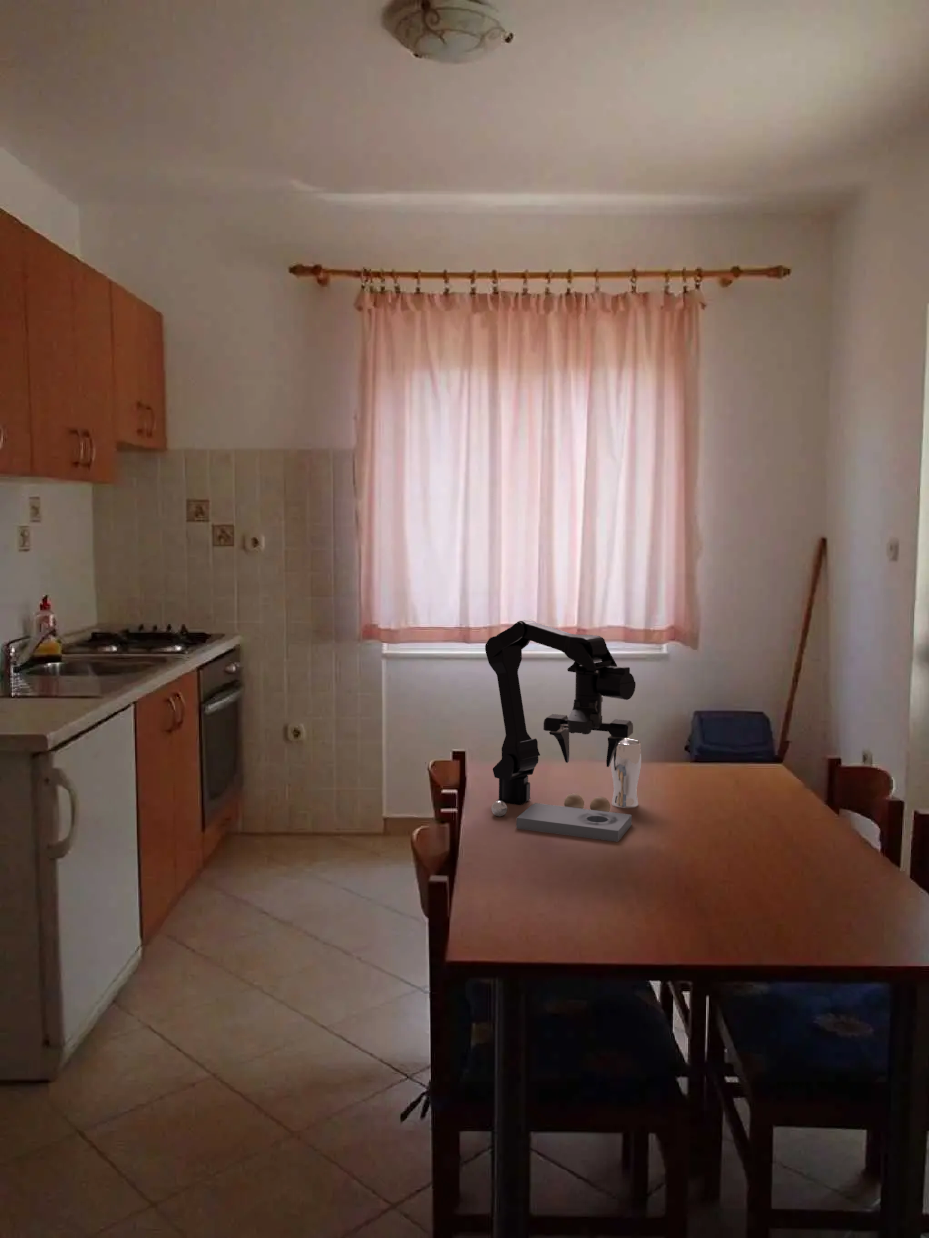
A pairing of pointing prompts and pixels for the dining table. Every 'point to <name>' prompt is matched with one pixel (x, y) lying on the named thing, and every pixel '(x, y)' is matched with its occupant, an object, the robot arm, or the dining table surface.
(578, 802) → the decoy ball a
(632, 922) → the dining table surface
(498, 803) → the steel ball
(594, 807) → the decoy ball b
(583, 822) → the plate
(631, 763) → the beer glass
